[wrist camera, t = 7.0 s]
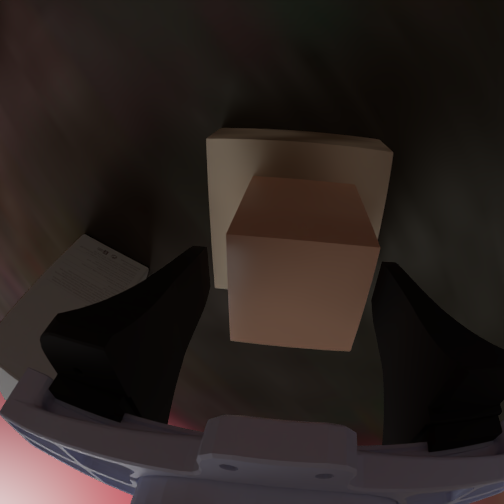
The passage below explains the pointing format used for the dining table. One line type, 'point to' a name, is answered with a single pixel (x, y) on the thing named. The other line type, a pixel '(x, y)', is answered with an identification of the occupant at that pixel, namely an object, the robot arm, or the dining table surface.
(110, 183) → the dining table surface
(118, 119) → the dining table surface
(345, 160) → the maple base block
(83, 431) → the robot arm
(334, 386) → the dining table surface
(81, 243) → the small box
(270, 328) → the terracotta block
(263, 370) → the dining table surface
